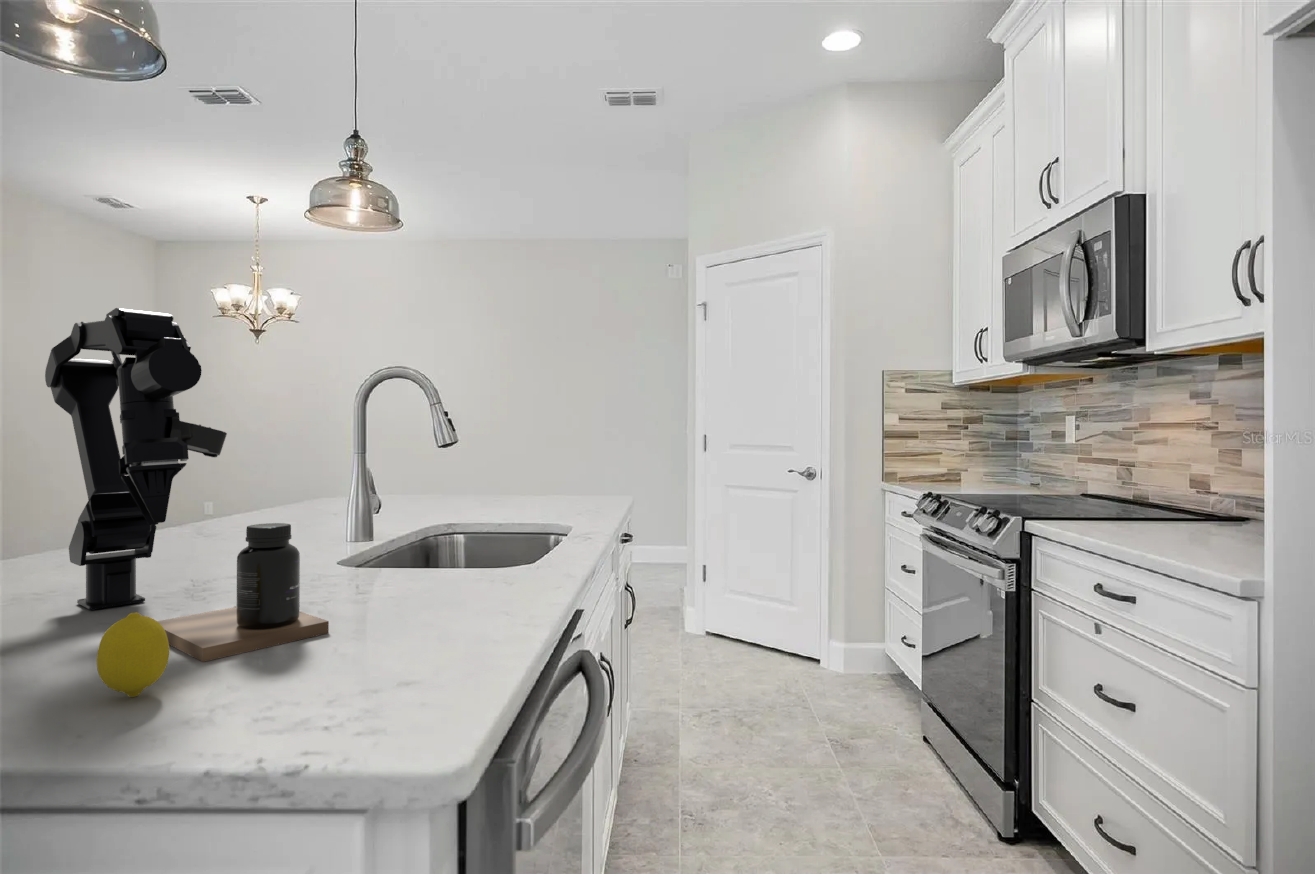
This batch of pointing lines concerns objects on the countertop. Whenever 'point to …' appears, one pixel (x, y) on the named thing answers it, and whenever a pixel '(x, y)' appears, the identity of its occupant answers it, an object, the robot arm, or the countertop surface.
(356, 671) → the countertop surface
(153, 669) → the lemon
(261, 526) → the supplement bottle
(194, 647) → the walnut board
